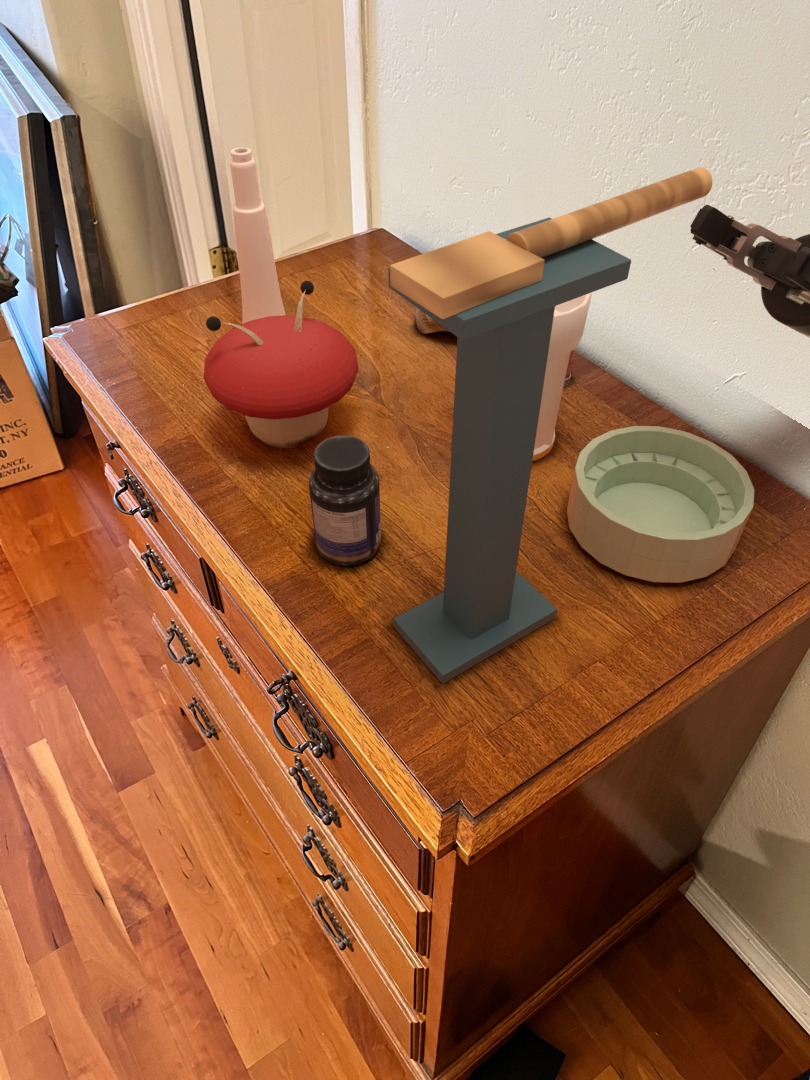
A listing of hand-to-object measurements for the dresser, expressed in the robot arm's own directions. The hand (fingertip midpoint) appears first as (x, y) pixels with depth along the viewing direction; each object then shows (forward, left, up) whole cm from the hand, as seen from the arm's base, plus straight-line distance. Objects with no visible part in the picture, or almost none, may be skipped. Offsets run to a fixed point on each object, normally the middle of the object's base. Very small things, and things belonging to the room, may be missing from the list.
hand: (747, 239), depth 57 cm
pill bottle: (+14, +26, -28) cm, 41 cm away
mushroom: (+33, +22, -28) cm, 49 cm away
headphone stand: (0, +22, -28) cm, 36 cm away
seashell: (+39, -6, -28) cm, 48 cm away
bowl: (0, +1, -28) cm, 28 cm away
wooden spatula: (0, +18, +4) cm, 18 cm away
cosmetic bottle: (+52, +15, -28) cm, 61 cm away
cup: (+18, +3, -28) cm, 33 cm away
